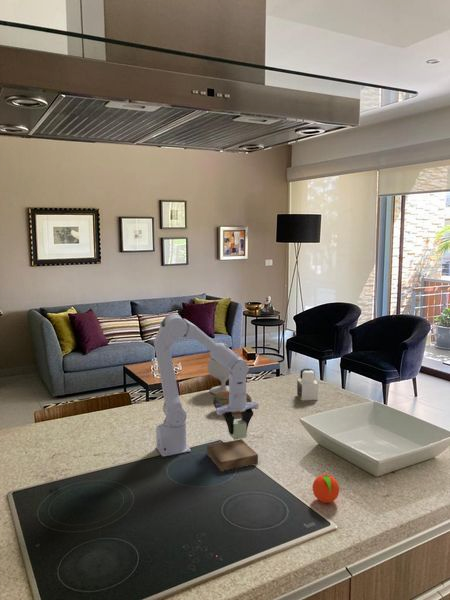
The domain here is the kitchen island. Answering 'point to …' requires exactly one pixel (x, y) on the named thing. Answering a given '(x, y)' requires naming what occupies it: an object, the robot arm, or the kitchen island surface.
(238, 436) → the block
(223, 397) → the tin
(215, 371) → the chalice
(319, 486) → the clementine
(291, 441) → the kitchen island surface
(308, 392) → the medicine bottle
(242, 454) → the plinth
